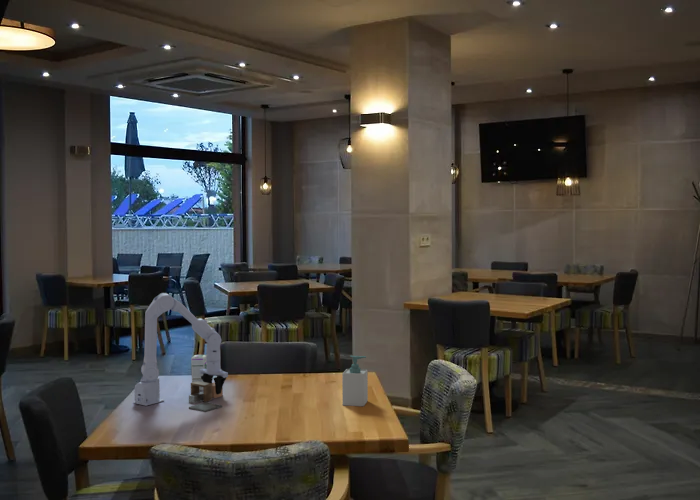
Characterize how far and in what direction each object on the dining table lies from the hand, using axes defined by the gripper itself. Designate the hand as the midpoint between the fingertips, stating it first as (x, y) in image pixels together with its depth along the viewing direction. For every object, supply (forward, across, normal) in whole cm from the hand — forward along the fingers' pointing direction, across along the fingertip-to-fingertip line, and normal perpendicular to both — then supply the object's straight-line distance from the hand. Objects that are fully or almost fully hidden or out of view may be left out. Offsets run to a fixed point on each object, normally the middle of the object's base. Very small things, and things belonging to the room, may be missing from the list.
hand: (213, 392), depth 300 cm
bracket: (+1, 0, +7) cm, 7 cm away
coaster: (+1, -10, +15) cm, 18 cm away
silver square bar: (+2, 0, +7) cm, 8 cm away
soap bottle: (+2, -56, -23) cm, 60 cm away
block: (+1, 0, 0) cm, 1 cm away
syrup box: (+2, +14, -6) cm, 16 cm away
